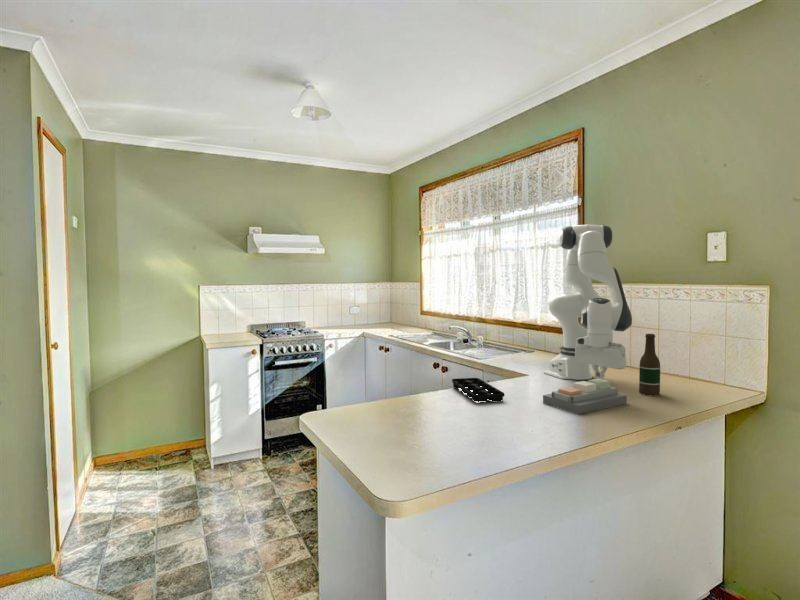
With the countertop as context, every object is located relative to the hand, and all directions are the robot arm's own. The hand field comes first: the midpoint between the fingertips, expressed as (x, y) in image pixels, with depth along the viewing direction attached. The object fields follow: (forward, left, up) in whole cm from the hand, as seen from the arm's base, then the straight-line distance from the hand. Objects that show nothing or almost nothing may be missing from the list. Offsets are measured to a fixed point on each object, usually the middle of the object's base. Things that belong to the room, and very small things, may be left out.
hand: (599, 377), depth 171 cm
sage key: (0, 0, -4) cm, 4 cm away
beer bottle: (+4, +25, -9) cm, 27 cm away
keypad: (0, -8, -9) cm, 12 cm away
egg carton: (-32, -33, -10) cm, 47 cm away
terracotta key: (0, -16, -6) cm, 17 cm away
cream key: (0, -8, -4) cm, 9 cm away
